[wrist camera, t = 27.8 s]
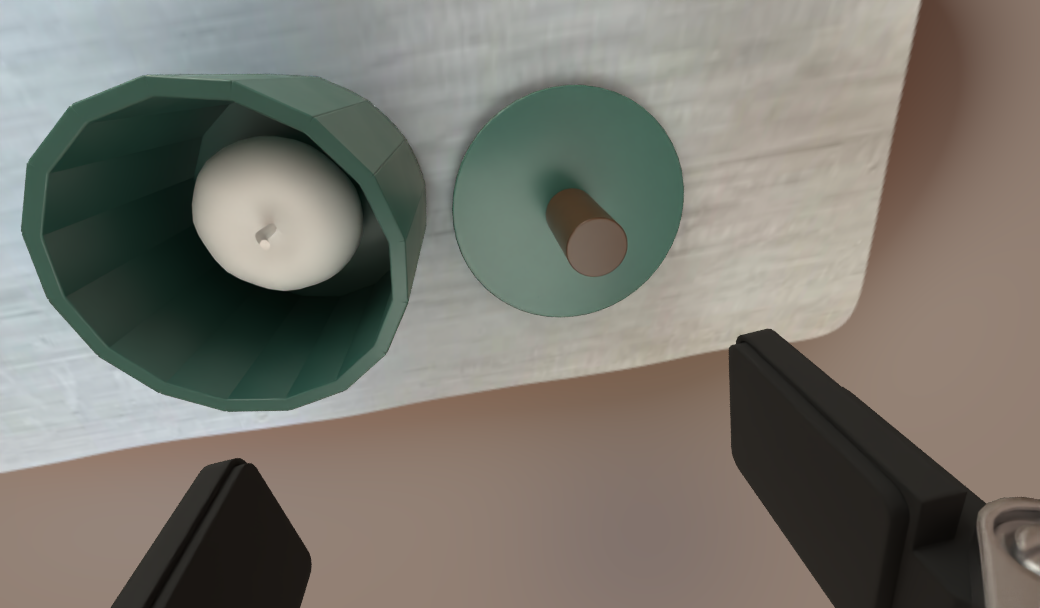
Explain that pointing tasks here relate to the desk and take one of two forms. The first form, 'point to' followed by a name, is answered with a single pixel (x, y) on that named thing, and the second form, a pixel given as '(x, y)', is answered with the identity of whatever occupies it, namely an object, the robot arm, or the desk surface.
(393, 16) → the desk surface
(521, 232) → the lid
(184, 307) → the pot
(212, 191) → the plain white apple
